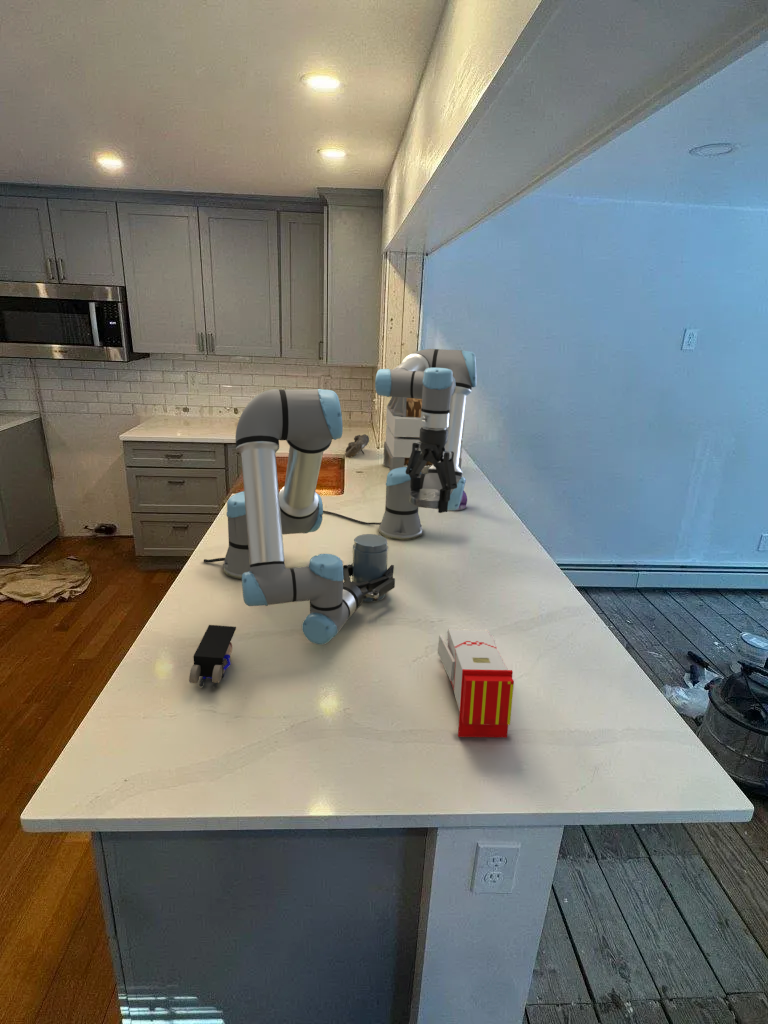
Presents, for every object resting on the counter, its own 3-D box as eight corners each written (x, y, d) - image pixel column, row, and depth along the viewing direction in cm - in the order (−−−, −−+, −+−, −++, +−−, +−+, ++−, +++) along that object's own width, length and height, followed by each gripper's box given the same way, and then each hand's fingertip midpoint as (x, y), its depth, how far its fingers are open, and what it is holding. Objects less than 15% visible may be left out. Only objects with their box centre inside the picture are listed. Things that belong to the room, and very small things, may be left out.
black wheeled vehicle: (223, 699, 115) (239, 649, 128) (220, 670, 112) (236, 622, 125) (189, 698, 115) (209, 649, 128) (185, 669, 111) (206, 622, 125)
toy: (488, 613, 130) (523, 677, 101) (484, 667, 133) (517, 744, 104) (435, 612, 130) (455, 676, 101) (432, 666, 133) (451, 743, 103)
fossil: (345, 440, 315) (366, 425, 310) (356, 453, 318) (377, 439, 313) (338, 454, 296) (361, 438, 291) (350, 468, 298) (372, 452, 293)
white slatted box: (382, 463, 289) (386, 382, 275) (445, 464, 293) (451, 384, 279) (390, 482, 257) (394, 392, 243) (460, 483, 261) (468, 394, 247)
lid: (414, 509, 152) (415, 501, 151) (405, 496, 162) (405, 489, 161) (453, 507, 154) (453, 500, 153) (441, 495, 164) (442, 488, 163)
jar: (385, 586, 162) (388, 534, 157) (386, 602, 153) (388, 547, 148) (352, 585, 162) (353, 532, 156) (350, 601, 153) (352, 546, 147)
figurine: (453, 512, 223) (457, 475, 218) (439, 504, 231) (442, 469, 226) (473, 509, 227) (477, 473, 222) (459, 501, 236) (462, 467, 231)
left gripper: (302, 606, 144) (338, 570, 164) (384, 624, 137) (412, 585, 157) (302, 579, 141) (339, 547, 161) (386, 597, 134) (413, 560, 154)
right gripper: (395, 421, 157) (391, 496, 164) (455, 437, 140) (448, 520, 148) (415, 419, 162) (411, 492, 169) (476, 434, 145) (468, 515, 152)
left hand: (375, 566), depth 159 cm, fingers closed on jar, 9 cm apart
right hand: (428, 505), depth 158 cm, fingers closed on lid, 11 cm apart
